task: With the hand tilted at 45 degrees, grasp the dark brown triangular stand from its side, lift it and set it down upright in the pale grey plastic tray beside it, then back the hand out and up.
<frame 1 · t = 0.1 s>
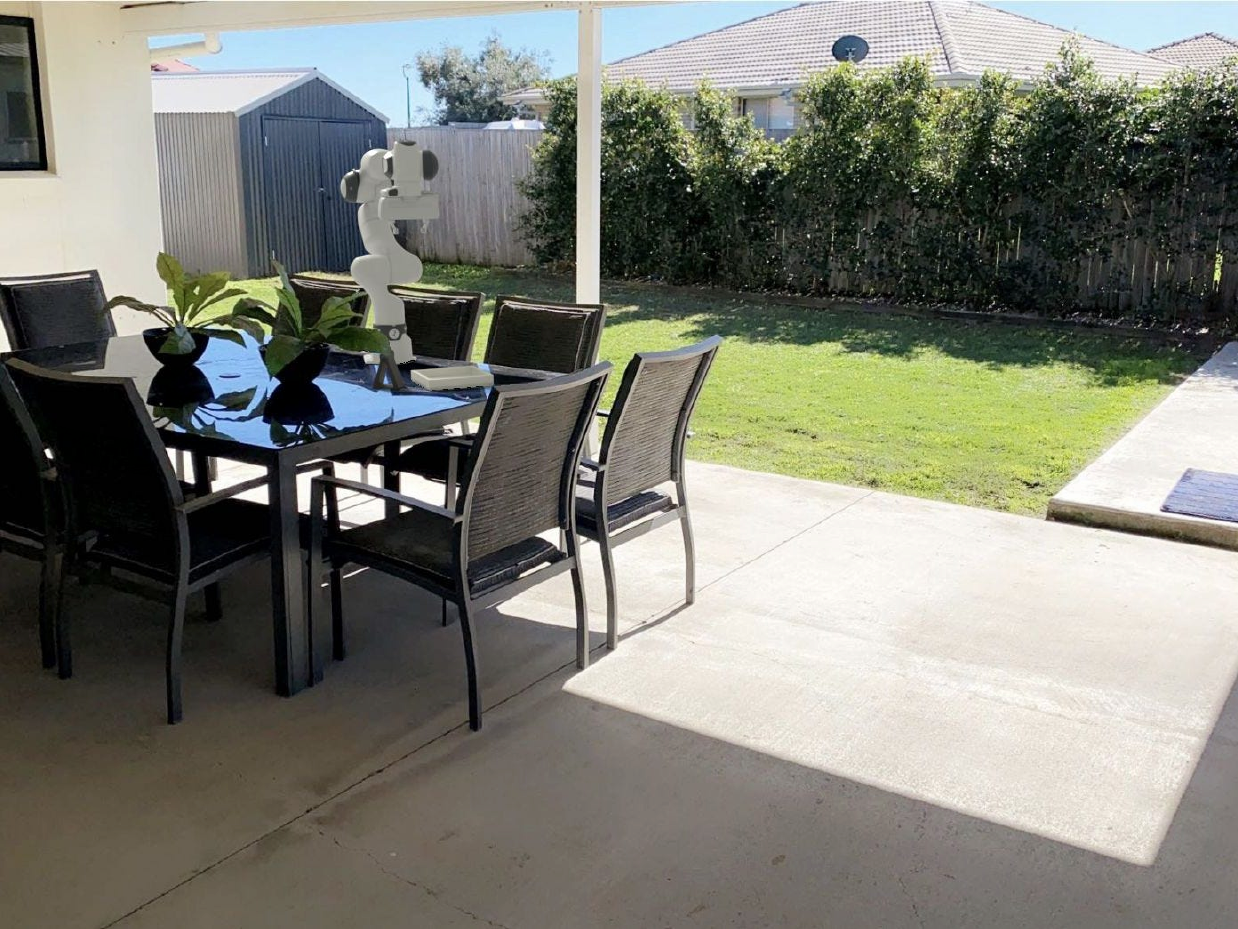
hand: (409, 233, 386), 48 cm above the table, tool pointing down, fingers open, 8 cm apart
dark brown triangular stand: (388, 387, 378), on the table
tray: (452, 383, 385), on the table
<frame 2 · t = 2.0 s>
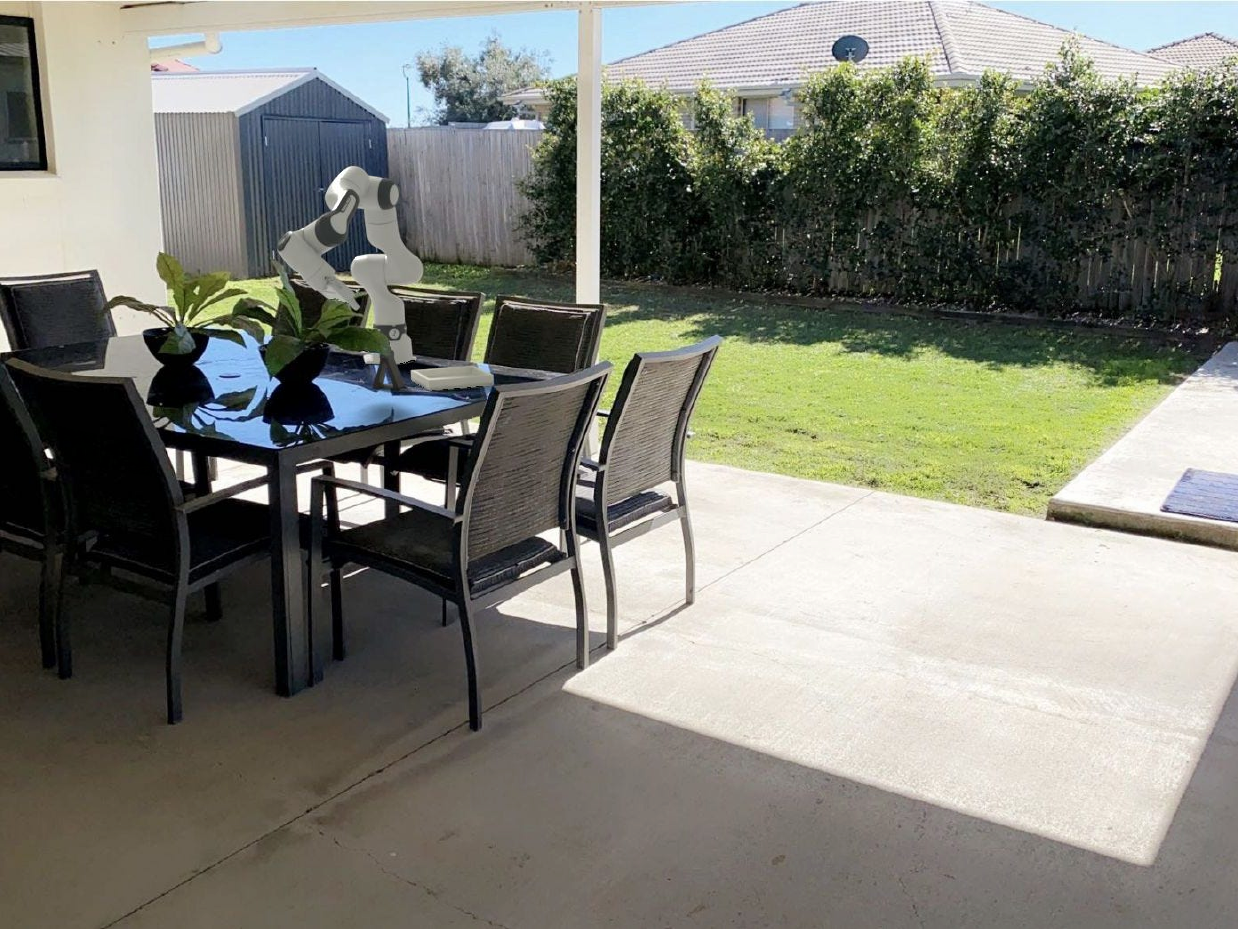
hand: (353, 307, 366), 26 cm above the table, tool tilted 45°, fingers open, 8 cm apart
nothing on the table moved.
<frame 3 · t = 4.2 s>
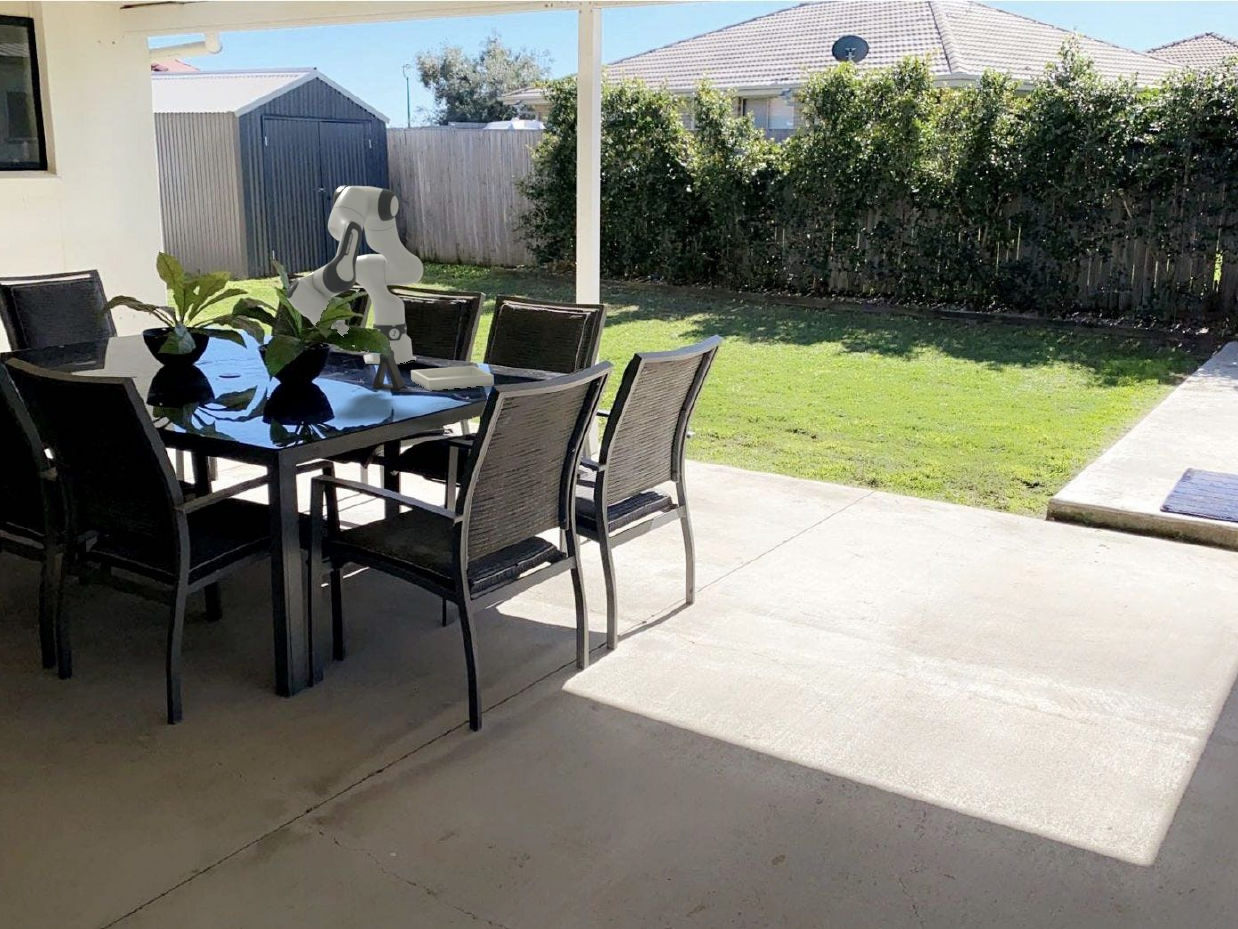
hand: (362, 349, 371), 13 cm above the table, tool tilted 45°, fingers open, 8 cm apart
nothing on the table moved.
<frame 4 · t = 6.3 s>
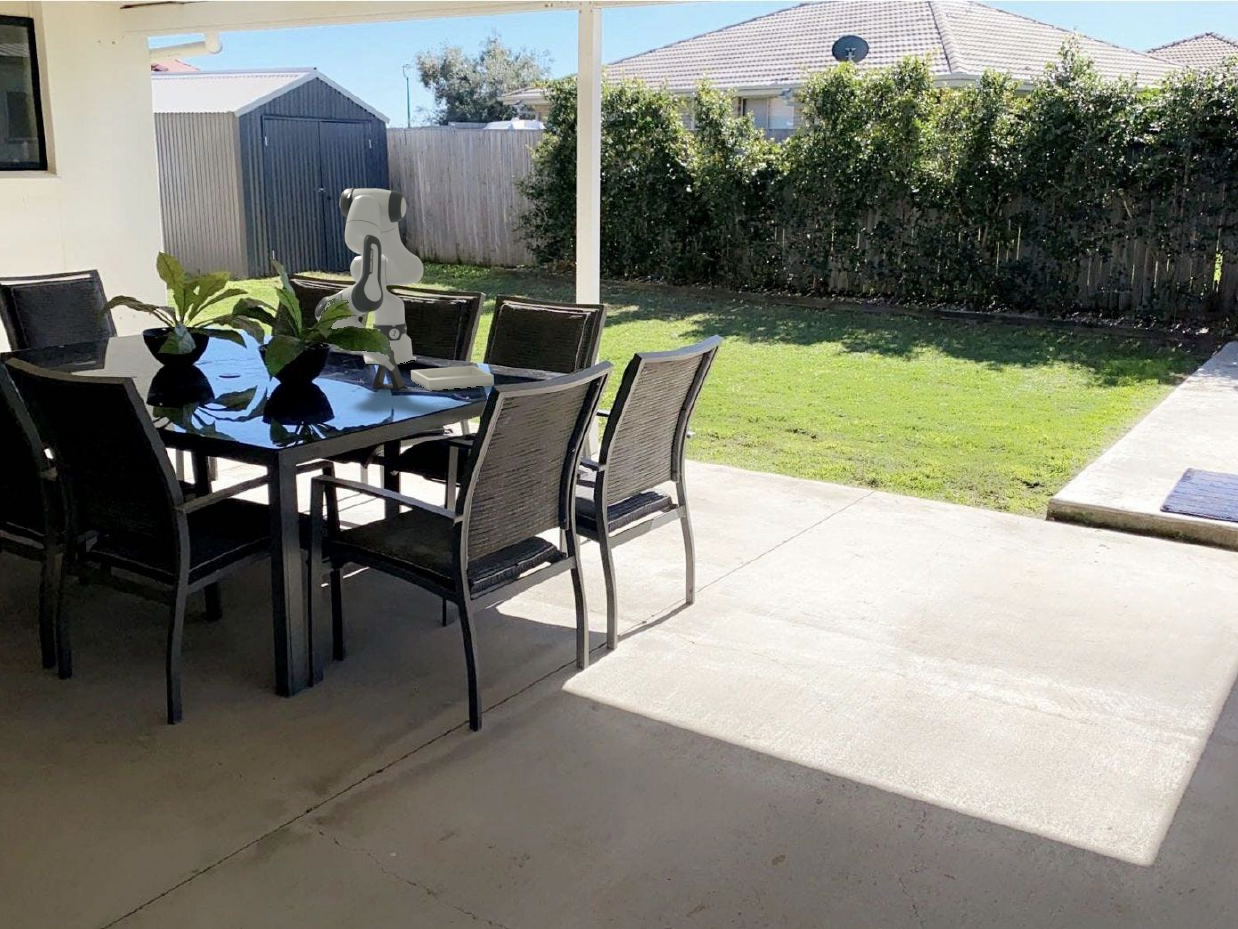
hand: (389, 367, 376), 7 cm above the table, tool tilted 45°, fingers closed on dark brown triangular stand, 7 cm apart
dark brown triangular stand: (388, 387, 378), on the table, touching gripper
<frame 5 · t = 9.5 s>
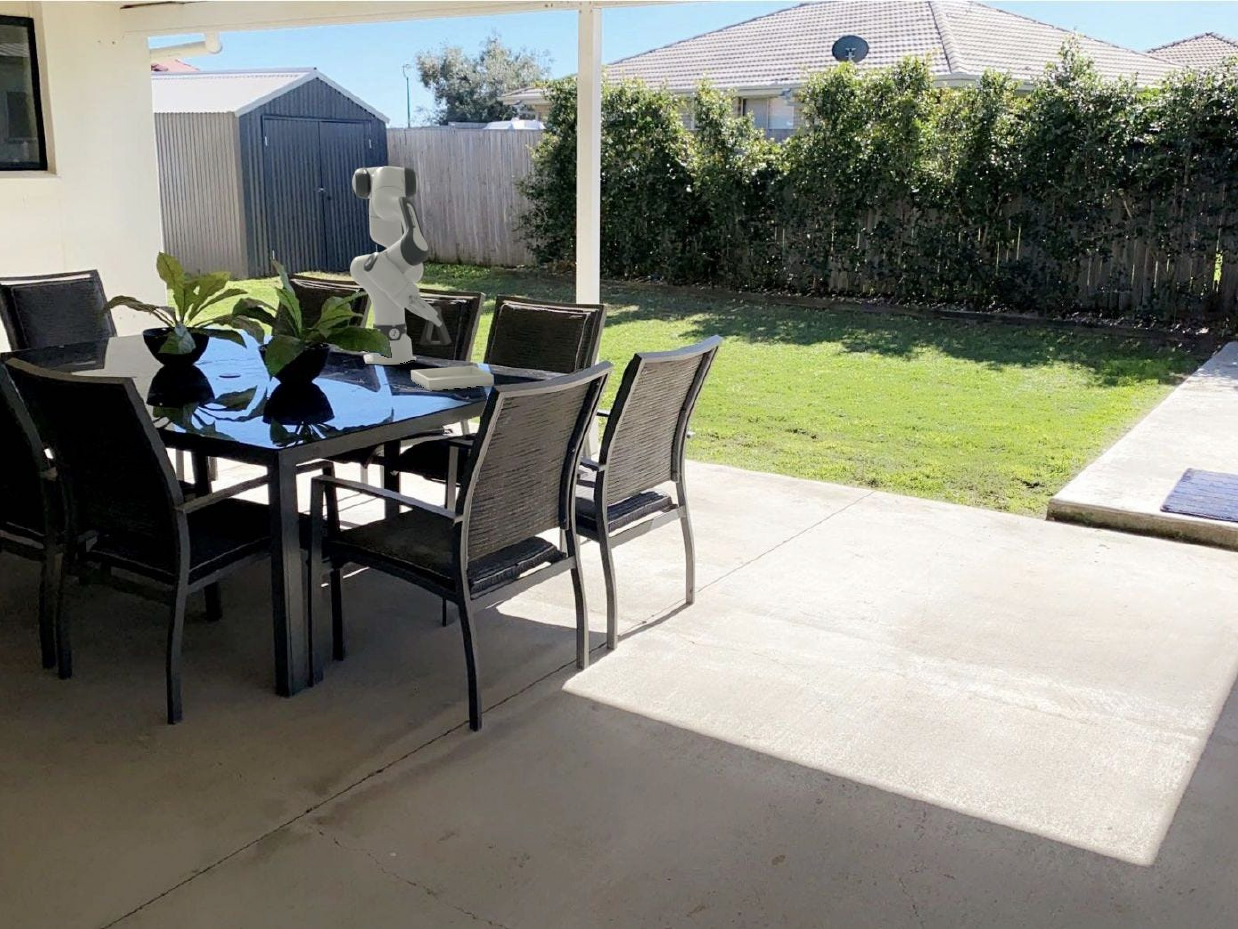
hand: (436, 323, 378), 20 cm above the table, tool tilted 45°, fingers closed on dark brown triangular stand, 6 cm apart
dark brown triangular stand: (435, 344, 380), point 13 cm above the table, touching gripper
when the fingers open (9 cm above the table, at t = 12.4 s): dark brown triangular stand moves 3 cm, resting on tray.
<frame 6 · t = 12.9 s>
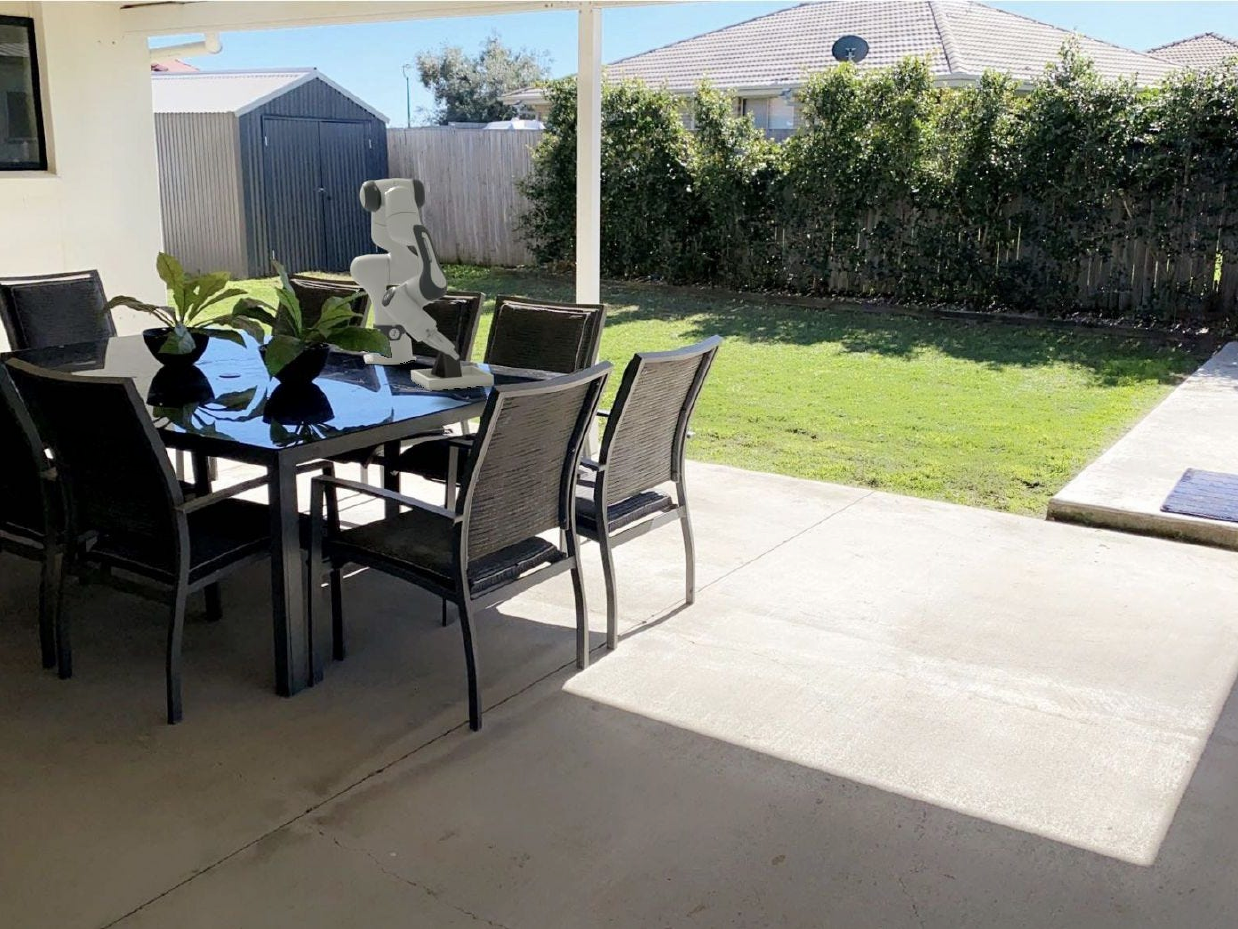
hand: (452, 356, 383), 9 cm above the table, tool tilted 45°, fingers open, 8 cm apart
dark brown triangular stand: (446, 377, 387), point 2 cm above the table, touching gripper, tray
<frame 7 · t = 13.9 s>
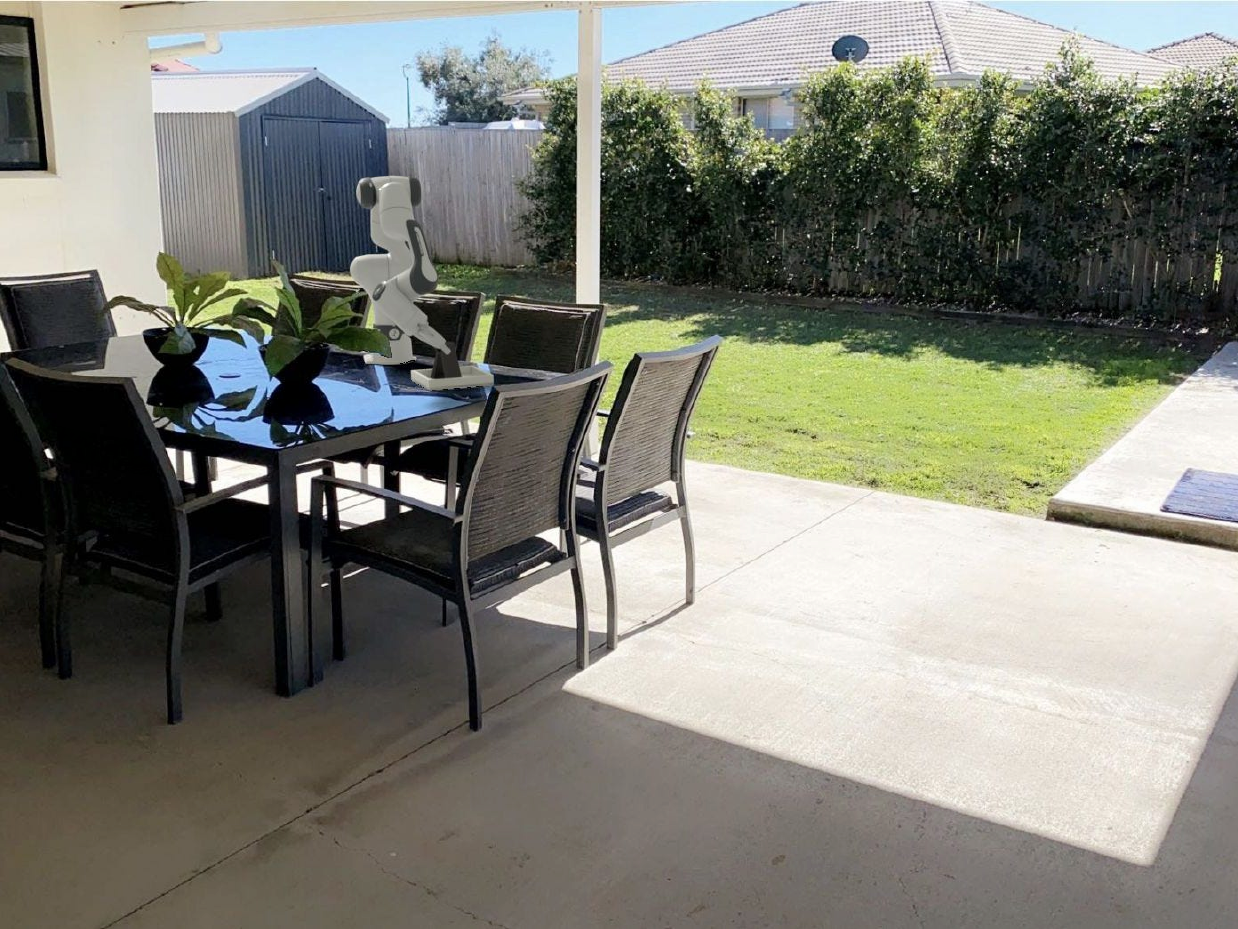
hand: (444, 350, 381), 11 cm above the table, tool tilted 45°, fingers open, 8 cm apart
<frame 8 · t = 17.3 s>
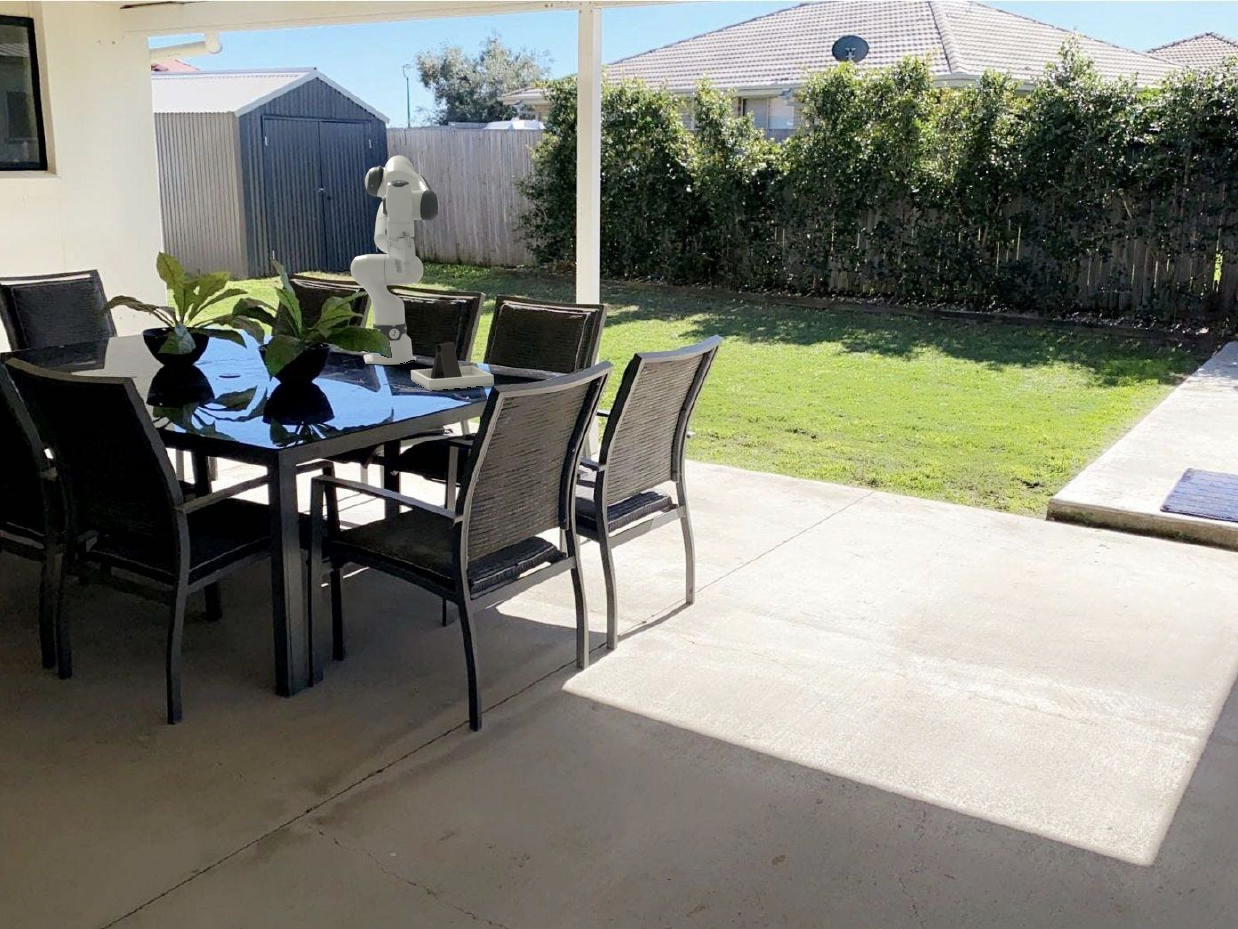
hand: (402, 273, 384), 35 cm above the table, tool pointing down, fingers open, 8 cm apart
dark brown triangular stand: (446, 379, 387), point 1 cm above the table, touching tray
at the end: dark brown triangular stand inside the target area on the tray (3.2 cm from its centre), point 0.8 cm above the tray's base; dark brown triangular stand tilted 0°; the gripper is holding nothing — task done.
